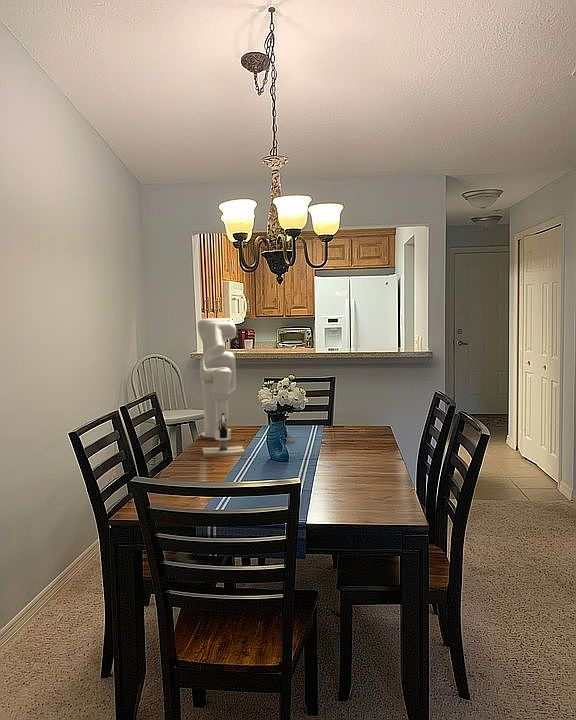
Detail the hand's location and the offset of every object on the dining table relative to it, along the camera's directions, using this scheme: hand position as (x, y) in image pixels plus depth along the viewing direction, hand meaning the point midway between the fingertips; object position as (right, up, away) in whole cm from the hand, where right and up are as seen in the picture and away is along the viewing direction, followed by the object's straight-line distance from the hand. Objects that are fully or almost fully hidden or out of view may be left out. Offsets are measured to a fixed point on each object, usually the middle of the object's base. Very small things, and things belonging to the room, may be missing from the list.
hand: (223, 436), depth 292 cm
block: (0, -8, +1) cm, 8 cm away
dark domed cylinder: (0, -6, +1) cm, 6 cm away
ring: (0, -1, 0) cm, 1 cm away
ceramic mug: (+27, -6, +22) cm, 35 cm away
